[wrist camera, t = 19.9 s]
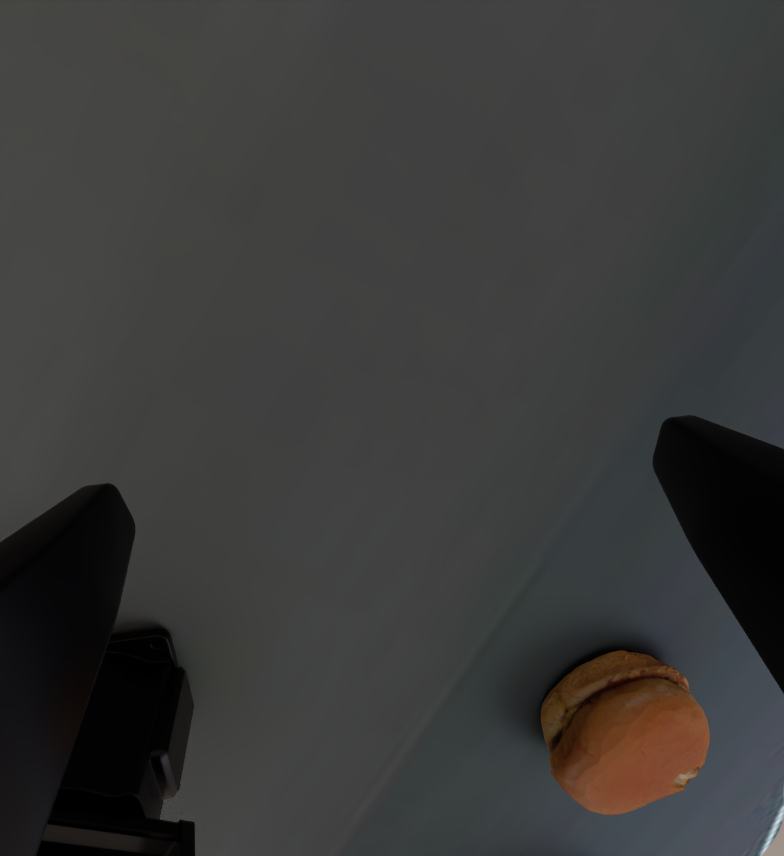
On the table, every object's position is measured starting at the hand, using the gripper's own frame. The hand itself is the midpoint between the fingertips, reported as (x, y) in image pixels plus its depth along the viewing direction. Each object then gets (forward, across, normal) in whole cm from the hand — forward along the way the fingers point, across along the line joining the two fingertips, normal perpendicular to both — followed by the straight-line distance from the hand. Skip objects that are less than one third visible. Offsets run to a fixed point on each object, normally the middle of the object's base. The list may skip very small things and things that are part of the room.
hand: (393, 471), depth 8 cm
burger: (+9, -12, +28) cm, 31 cm away
